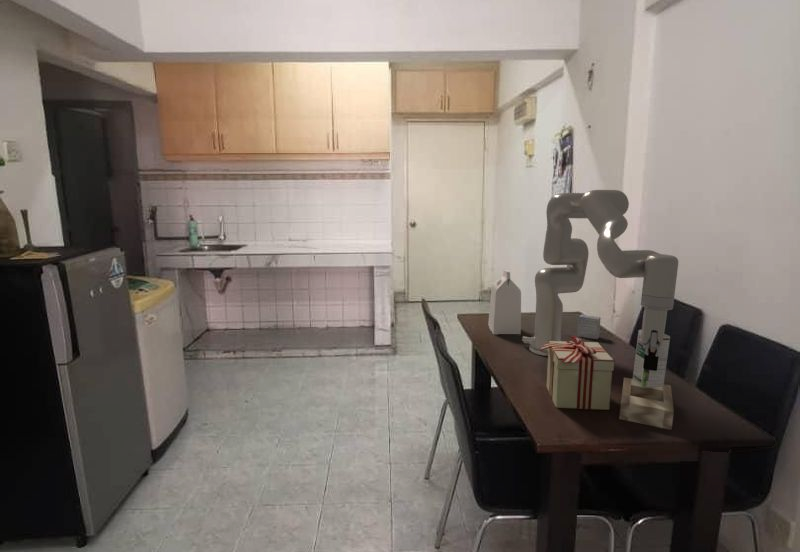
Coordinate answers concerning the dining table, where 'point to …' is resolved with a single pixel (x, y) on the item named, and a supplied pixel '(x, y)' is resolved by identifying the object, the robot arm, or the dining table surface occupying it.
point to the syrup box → (649, 376)
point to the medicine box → (588, 326)
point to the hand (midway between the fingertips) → (649, 364)
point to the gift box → (579, 374)
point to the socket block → (647, 404)
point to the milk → (505, 306)
